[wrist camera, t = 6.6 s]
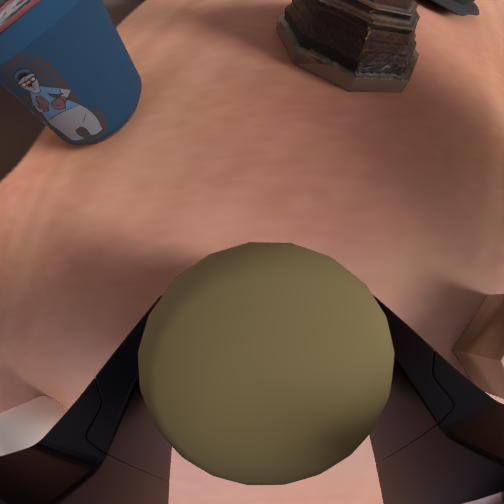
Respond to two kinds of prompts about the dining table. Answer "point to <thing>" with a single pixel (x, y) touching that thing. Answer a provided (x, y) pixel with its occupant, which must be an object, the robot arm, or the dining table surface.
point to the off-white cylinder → (28, 423)
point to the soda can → (68, 67)
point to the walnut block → (484, 346)
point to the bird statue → (353, 41)
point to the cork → (266, 363)
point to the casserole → (459, 6)
